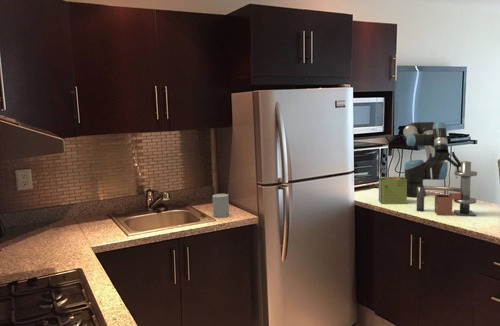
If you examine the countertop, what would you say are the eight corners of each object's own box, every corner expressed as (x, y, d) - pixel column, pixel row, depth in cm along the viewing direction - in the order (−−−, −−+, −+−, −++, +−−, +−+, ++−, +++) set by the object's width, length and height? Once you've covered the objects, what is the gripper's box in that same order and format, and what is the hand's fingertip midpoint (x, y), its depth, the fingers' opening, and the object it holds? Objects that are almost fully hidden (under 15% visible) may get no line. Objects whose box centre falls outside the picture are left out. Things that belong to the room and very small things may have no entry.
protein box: (407, 204, 262) (407, 179, 260) (381, 204, 264) (381, 179, 262) (403, 200, 272) (403, 176, 270) (378, 200, 274) (378, 176, 272)
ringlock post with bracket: (433, 211, 243) (434, 160, 239) (472, 211, 239) (474, 160, 235) (438, 216, 232) (439, 163, 229) (478, 216, 228) (480, 163, 224)
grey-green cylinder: (216, 218, 246) (215, 197, 244) (211, 215, 254) (210, 194, 253) (231, 216, 249) (230, 195, 248) (226, 212, 258) (225, 193, 256)
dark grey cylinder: (416, 209, 248) (416, 186, 246) (423, 209, 247) (423, 186, 245) (417, 211, 244) (417, 187, 242) (424, 211, 243) (425, 187, 241)
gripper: (419, 145, 262) (421, 177, 254) (463, 141, 253) (467, 174, 244) (419, 150, 269) (421, 181, 260) (463, 147, 259) (467, 179, 251)
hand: (444, 178), depth 252 cm, fingers open, 13 cm apart
